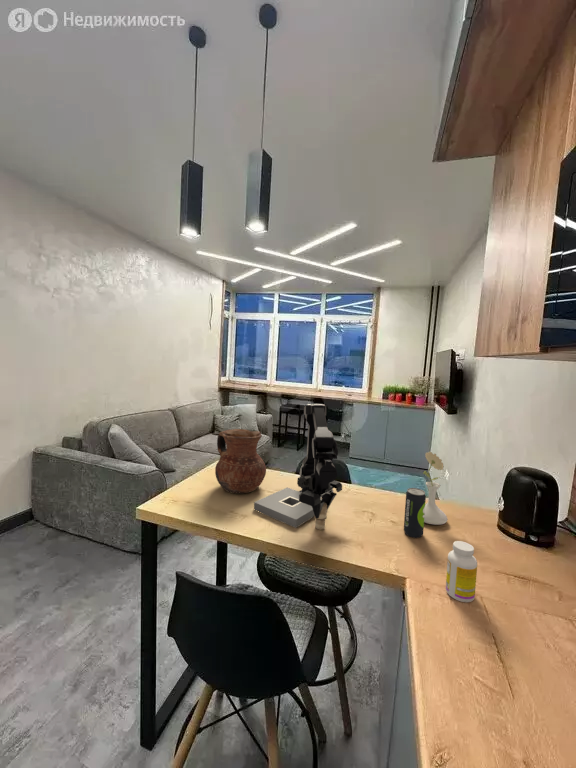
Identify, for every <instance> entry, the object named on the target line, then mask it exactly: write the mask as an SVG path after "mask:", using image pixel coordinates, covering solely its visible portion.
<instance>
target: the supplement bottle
mask: <svg viewBox="0 0 576 768" xmlns="http://www.w3.org/2000/svg"><path fill="white" fill-rule="evenodd" d="M474 552H475V547H474V546H473V545H472V544H470V543H468V542H465V541H463V540H455V541H454V542H453V543H452V550H450V551H449V552H448V554H447V566H446V575H445V576H446V579H445V591H446V593H447V594H448V596H450V597H451V598H452V599H455V600H456V601H457V602H458V601H459V602H461V603H462V602H463V603H470V602H473V601H474V600H475V598H476V587H477V571H478V561H477V558H476V557H475V556H474V554H475V553H474Z"/></svg>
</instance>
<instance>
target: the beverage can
mask: <svg viewBox="0 0 576 768" xmlns="http://www.w3.org/2000/svg"><path fill="white" fill-rule="evenodd" d="M426 500H427V496H426V491H425V490H423V489H421V488H417V487H409V488H407V490H406V492H405V504H404V505H405V507H404V521H403V531H404V534H406V535H407V536H408V537H410V538H413V539H415V538H416V539H419V538H421V537H422V536H423V535H424V527H425V522H424V515H425V504H426Z"/></svg>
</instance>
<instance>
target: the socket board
mask: <svg viewBox="0 0 576 768" xmlns="http://www.w3.org/2000/svg"><path fill="white" fill-rule="evenodd" d="M299 491H300V490H296V489H294V488H293V489H292V488H290V487H285V488H283V489H279V490H278V491H276V492H274V493H271V494H269V495H267V496H265V497H262V498H260V499H258V500H256V501H253V510H254V509H255V510H254V511H256V510H257V511H256V512H258V511H259V512H258V513H260V512H261V513H260V514H262V513H263V515H265V516H267V517H268V518H272V519H275V520H277V521H279V522H281V523H283V524H285V525H288V526H290V527H293V528H295V529H297V528H298V527H300V526H301V525H303V524H305V523H306V522H307V521H309V520H311V519H312V518H314V512H313V508H312V506H310V505H308V504H305V503H302V502H299V495H300V494H301V493H302V492H299ZM321 500H322V498H321Z"/></svg>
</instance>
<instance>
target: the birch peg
mask: <svg viewBox="0 0 576 768" xmlns="http://www.w3.org/2000/svg"><path fill="white" fill-rule="evenodd" d="M327 513H328V510H327V504H326V503H324V504H323V507H322V510H321V513H320V515H319V518H315V515H314V517H313V518H314V519H315V521H314V523H315V524H314V527H315V529H317V530H324V529H325V528H326V519H327V518H328V517H327V516H328V515H327Z"/></svg>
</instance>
